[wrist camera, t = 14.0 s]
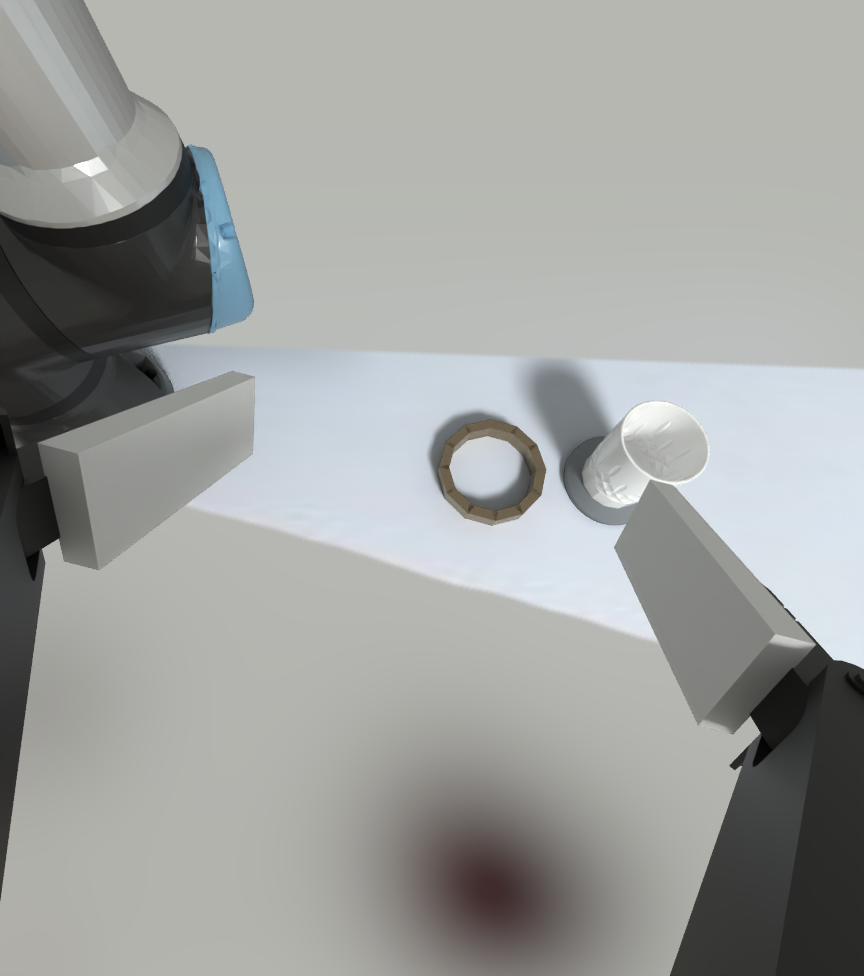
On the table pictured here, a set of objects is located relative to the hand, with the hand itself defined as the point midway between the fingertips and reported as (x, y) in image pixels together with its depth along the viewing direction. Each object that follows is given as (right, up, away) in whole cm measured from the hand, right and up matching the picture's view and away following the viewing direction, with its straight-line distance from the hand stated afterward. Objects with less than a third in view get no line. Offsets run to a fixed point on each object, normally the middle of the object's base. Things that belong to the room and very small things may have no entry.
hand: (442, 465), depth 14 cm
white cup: (+19, 0, +32) cm, 37 cm away
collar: (+6, +1, +32) cm, 33 cm away
